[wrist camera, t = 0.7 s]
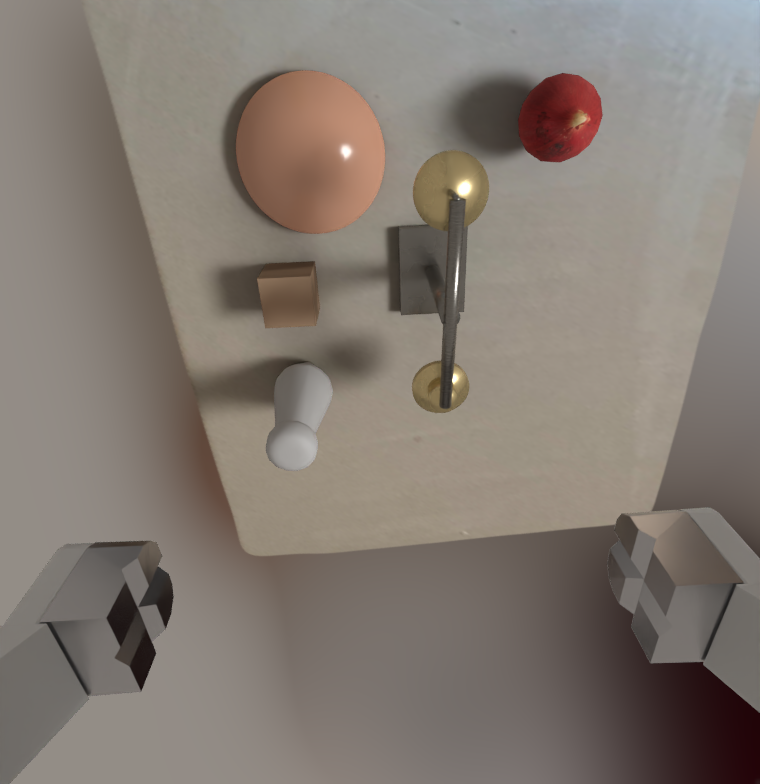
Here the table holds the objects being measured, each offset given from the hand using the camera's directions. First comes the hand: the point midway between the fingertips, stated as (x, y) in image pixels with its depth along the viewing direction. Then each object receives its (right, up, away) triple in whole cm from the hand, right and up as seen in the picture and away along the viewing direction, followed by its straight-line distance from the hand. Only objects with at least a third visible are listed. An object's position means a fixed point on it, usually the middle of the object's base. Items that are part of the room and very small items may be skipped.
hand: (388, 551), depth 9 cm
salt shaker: (-8, +4, +44) cm, 45 cm away
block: (-8, +13, +39) cm, 42 cm away
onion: (+13, +25, +32) cm, 43 cm away
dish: (-6, +22, +33) cm, 40 cm away
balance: (+5, +14, +38) cm, 41 cm away
